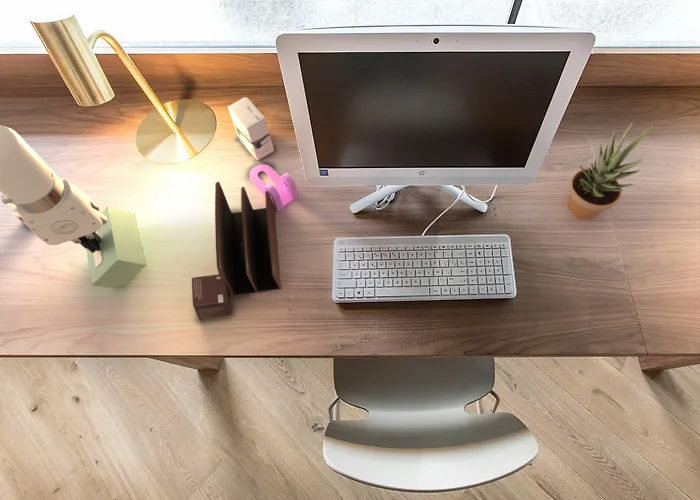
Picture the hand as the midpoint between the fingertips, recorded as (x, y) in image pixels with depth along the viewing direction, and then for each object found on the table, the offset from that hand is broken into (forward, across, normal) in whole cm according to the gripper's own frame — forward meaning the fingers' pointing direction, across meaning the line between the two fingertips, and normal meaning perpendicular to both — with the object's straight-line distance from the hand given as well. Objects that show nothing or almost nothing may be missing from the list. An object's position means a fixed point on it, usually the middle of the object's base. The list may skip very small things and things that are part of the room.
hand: (95, 245), depth 96 cm
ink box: (+8, +36, +18) cm, 41 cm away
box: (+8, +17, -17) cm, 26 cm away
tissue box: (+5, -1, 0) cm, 6 cm away
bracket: (+8, +36, +5) cm, 38 cm away
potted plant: (+9, +96, -26) cm, 99 cm away
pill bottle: (+8, -14, +17) cm, 23 cm away
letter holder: (+8, +28, -9) cm, 31 cm away
